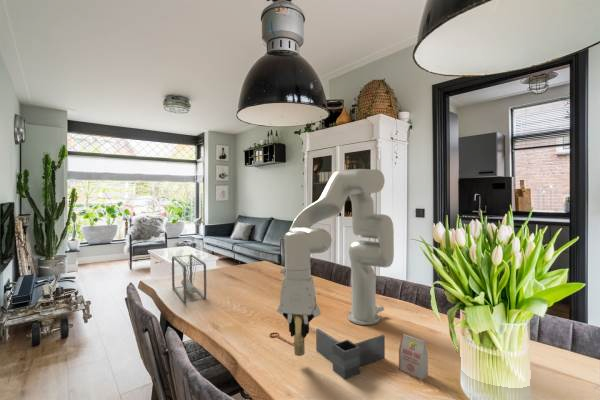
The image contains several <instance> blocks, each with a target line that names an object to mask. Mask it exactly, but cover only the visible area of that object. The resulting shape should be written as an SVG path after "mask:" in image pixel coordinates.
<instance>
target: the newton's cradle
mask: <svg viewBox="0 0 600 400" xmlns="http://www.w3.org/2000/svg"><path fill="white" fill-rule="evenodd" d="M185 257H186V259H185V260H184V255H179V256H175V255H173V256H172V257H171V283H172V284H171V286H172V290H173V291H174V292H175V293H176V295H177V296H178V297H179V299H180V300H181V302H182V303H183V304H186V303H187V302H192V301H196V300H197V301H198V300H206V299H207V264H206V262H204V261H202V260H201V259H200V258H199V257H196V256H195V255H194V254H193V253H192V254H189V255H185ZM175 261H176V263H178V264H179V265H180V267H181V268H182V271H181V272H182V275H183V277H182V279H181V282H180V283H181V285H182V286H177V287H175ZM195 263H196V264H195ZM199 265H203V293H202V292H201V291H200V290H199V289H198V288H197V287H196V286H195V285H194V281H195V279H193V276H194V277H195V276H196V273H194V272H193V270H194V271H196V270H197V267H195V266H199ZM194 268H195V269H194ZM178 288H180V289H181V288H183V296H182V295H181V293H180V292H179V290H178ZM187 292H188V293H189V294H190V295H191V294H195V293H197V294H199V296H200V298H199V297H198V298H194V299H189V300H187Z"/></svg>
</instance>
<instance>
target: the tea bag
mask: <svg viewBox="0 0 600 400" xmlns="http://www.w3.org/2000/svg"><path fill="white" fill-rule="evenodd" d="M398 371H400V372H401V373H404V374H406V375H409V376H411V377H413V378H415V379H418V380H420V381H422V380H424V379H425V378H427V377H428V375H429V352H428V349H427V345H426V341H425V340H421V339H420V338H416V337H413V336H411V335H407V334H405V333H401V339H400V344H399V347H398Z"/></svg>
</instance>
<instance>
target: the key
mask: <svg viewBox="0 0 600 400" xmlns="http://www.w3.org/2000/svg"><path fill="white" fill-rule="evenodd" d="M273 334H274V335H273ZM269 337H270V338H277V339H279V340H281V341H283V342H284V343H287V344H288V345H290V346H292V347H294V342H291V341H289V340H287V339H286V338H284V337H283V336H280V333H279V332H271V333H269Z"/></svg>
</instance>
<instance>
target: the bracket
mask: <svg viewBox="0 0 600 400" xmlns="http://www.w3.org/2000/svg"><path fill="white" fill-rule="evenodd" d="M315 332H316V333H315V338H316V339H315V343H316V345H315V347H316V348H315V350H316V352H317V353H319V354H320V355H321V356H323V357H324V358H325V359H327V360H328V361H330V362H331V363H332V371H333V372H334V373H336V374H337V375H338V376H339V377H341V378H342V379H343V380H348V379H350V378H353V377H356V376H358V375H360V374H361V368H363V367H366V366H368V365H371V364H374V363H376V362H380V361H382V360H384V359H386V357H385V356H386V355H385V354H386V353H385V352H386V351H385V350H386V347H385V346H386V345H385V344H386V342H385V341H386V340H385V338H386V336H385V335H384V334H381V335H378V336H376V337H372V338H368V339H366V340H363V341H359V342H356V343H354V342H352V341H350V340H349V339H345V340H342V341H339V340H337V339H335V338H334V337H332V336H331V335H329V334H327V333H326V332H325V331H323V330H321V329H320V328H316V329H315Z"/></svg>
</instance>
